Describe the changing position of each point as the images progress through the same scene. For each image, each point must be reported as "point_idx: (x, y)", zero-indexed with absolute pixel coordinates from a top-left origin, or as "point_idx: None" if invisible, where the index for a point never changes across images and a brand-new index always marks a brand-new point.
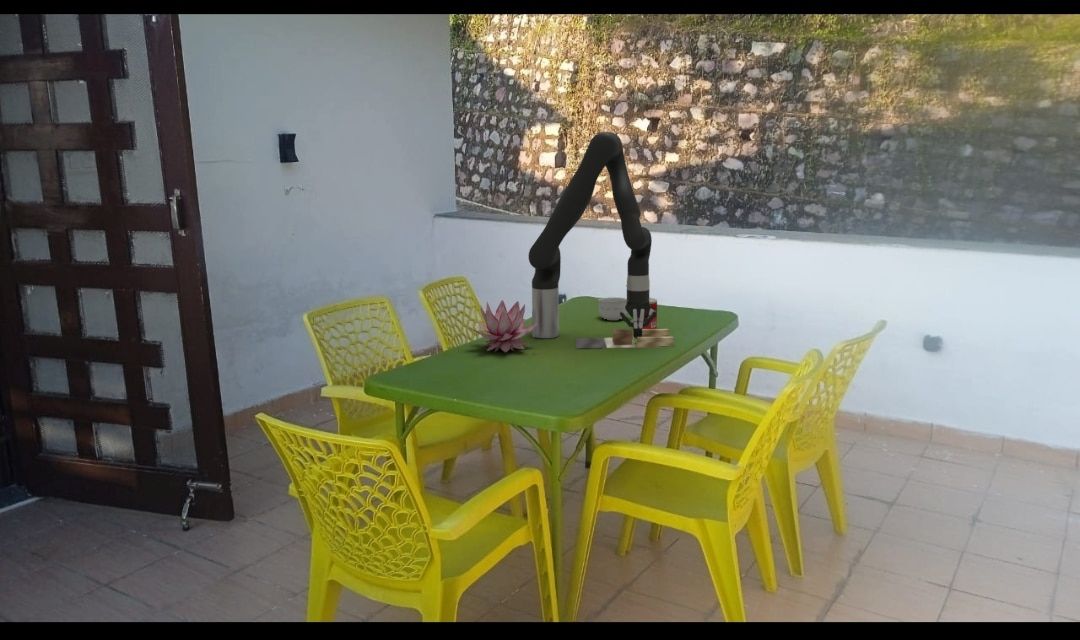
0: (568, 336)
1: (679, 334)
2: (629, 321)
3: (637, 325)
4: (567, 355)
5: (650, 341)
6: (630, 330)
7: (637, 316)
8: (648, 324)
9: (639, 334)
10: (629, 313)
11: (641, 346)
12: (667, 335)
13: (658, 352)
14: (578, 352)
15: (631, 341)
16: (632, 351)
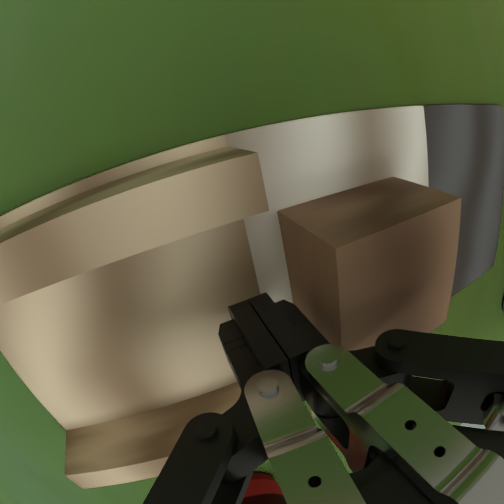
0: (491, 293)
1: (73, 486)
2: (434, 364)
3: (274, 491)
4: (497, 17)
5: (96, 195)
6: (345, 341)
7: (388, 474)
8: (176, 444)
9: (248, 325)
10: (502, 432)
11: (187, 158)
12: (72, 444)
13: (23, 60)
14: (487, 50)
15: (295, 217)
16: (252, 36)
